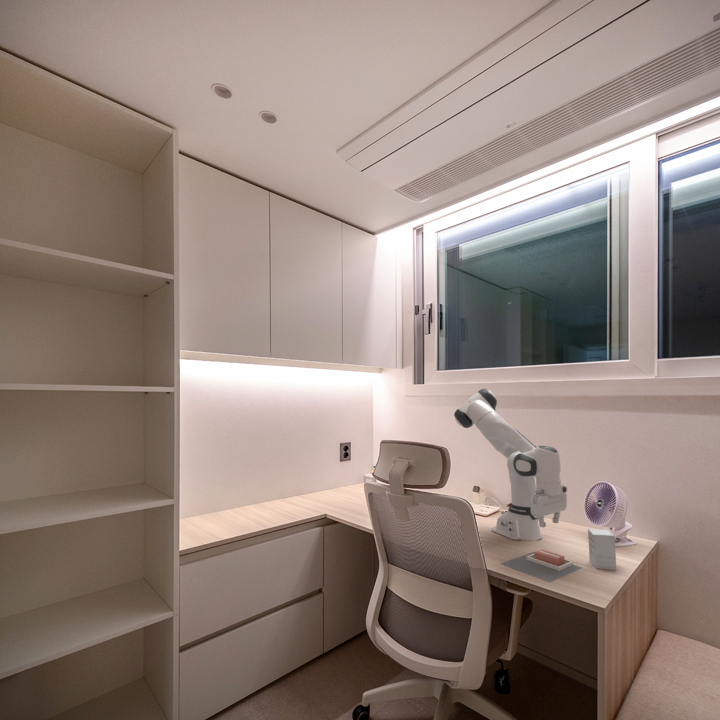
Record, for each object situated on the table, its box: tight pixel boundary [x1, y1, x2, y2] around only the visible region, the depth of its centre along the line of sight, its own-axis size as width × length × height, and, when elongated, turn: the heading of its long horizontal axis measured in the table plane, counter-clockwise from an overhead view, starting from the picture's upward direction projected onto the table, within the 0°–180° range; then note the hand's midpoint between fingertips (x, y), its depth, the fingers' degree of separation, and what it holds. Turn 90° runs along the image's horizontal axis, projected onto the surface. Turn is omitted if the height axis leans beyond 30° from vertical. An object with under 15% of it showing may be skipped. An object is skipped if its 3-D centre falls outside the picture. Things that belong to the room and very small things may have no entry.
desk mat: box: [500, 551, 582, 583], centre depth 159 cm, size 20×22×1 cm
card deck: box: [533, 549, 565, 567], centre depth 162 cm, size 9×6×3 cm, turn 35°
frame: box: [526, 554, 574, 571], centre depth 162 cm, size 13×10×1 cm
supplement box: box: [587, 528, 617, 571], centre depth 160 cm, size 7×7×13 cm
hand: (549, 524), depth 163 cm, fingers open, 8 cm apart
